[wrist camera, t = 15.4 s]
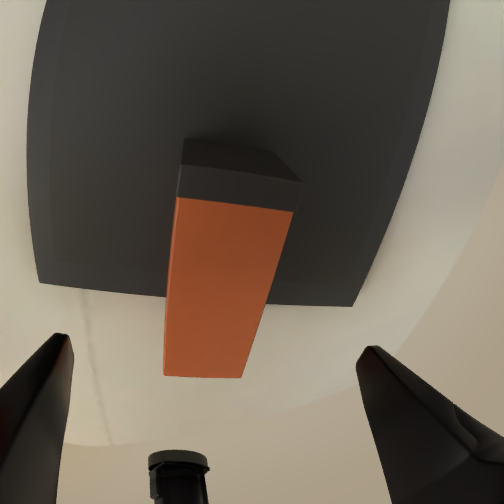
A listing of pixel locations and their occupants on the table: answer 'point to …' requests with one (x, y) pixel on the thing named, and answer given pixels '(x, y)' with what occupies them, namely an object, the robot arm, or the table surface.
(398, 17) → the dark grey flat panel
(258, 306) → the orange box
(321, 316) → the table surface
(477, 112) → the table surface
